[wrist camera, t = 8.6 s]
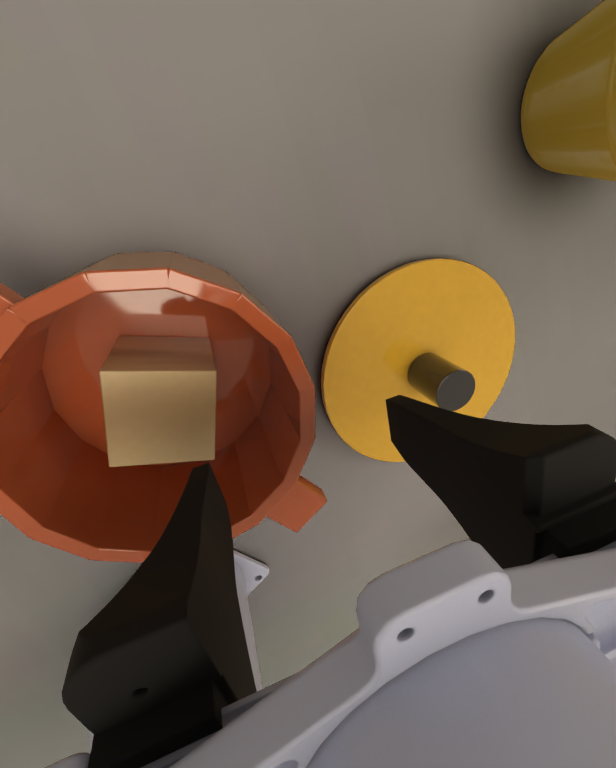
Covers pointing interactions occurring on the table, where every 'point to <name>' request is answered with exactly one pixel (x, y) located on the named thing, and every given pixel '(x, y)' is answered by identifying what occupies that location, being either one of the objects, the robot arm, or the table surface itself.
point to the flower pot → (575, 99)
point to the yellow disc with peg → (417, 349)
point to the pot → (86, 419)
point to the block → (159, 400)
